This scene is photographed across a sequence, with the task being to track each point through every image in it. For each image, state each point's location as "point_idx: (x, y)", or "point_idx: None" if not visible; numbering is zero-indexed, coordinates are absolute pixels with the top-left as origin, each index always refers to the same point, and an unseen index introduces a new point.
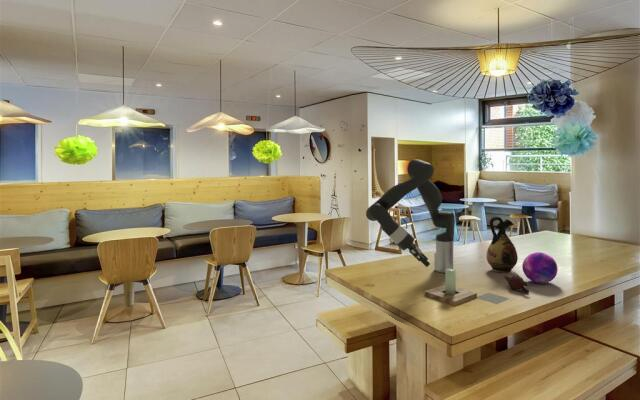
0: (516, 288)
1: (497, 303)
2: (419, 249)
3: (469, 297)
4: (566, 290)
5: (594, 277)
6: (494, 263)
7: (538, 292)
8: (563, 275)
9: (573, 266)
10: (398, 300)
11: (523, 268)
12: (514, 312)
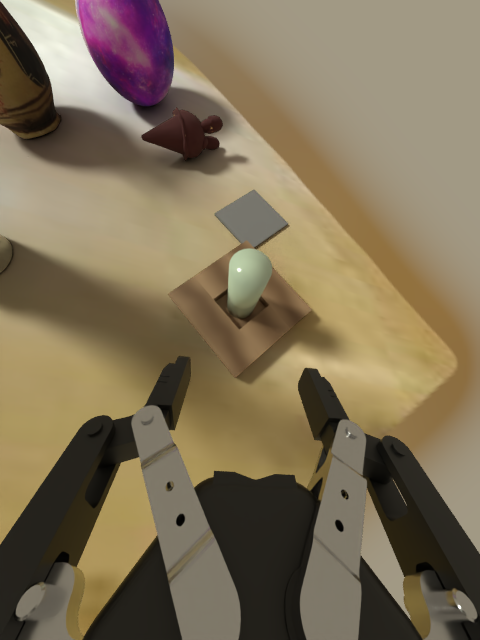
0: (200, 152)
1: (285, 221)
2: (185, 467)
3: None
4: (200, 87)
5: None
6: (22, 106)
7: None
8: None
9: (45, 3)
10: (274, 470)
11: (123, 71)
12: (324, 211)
